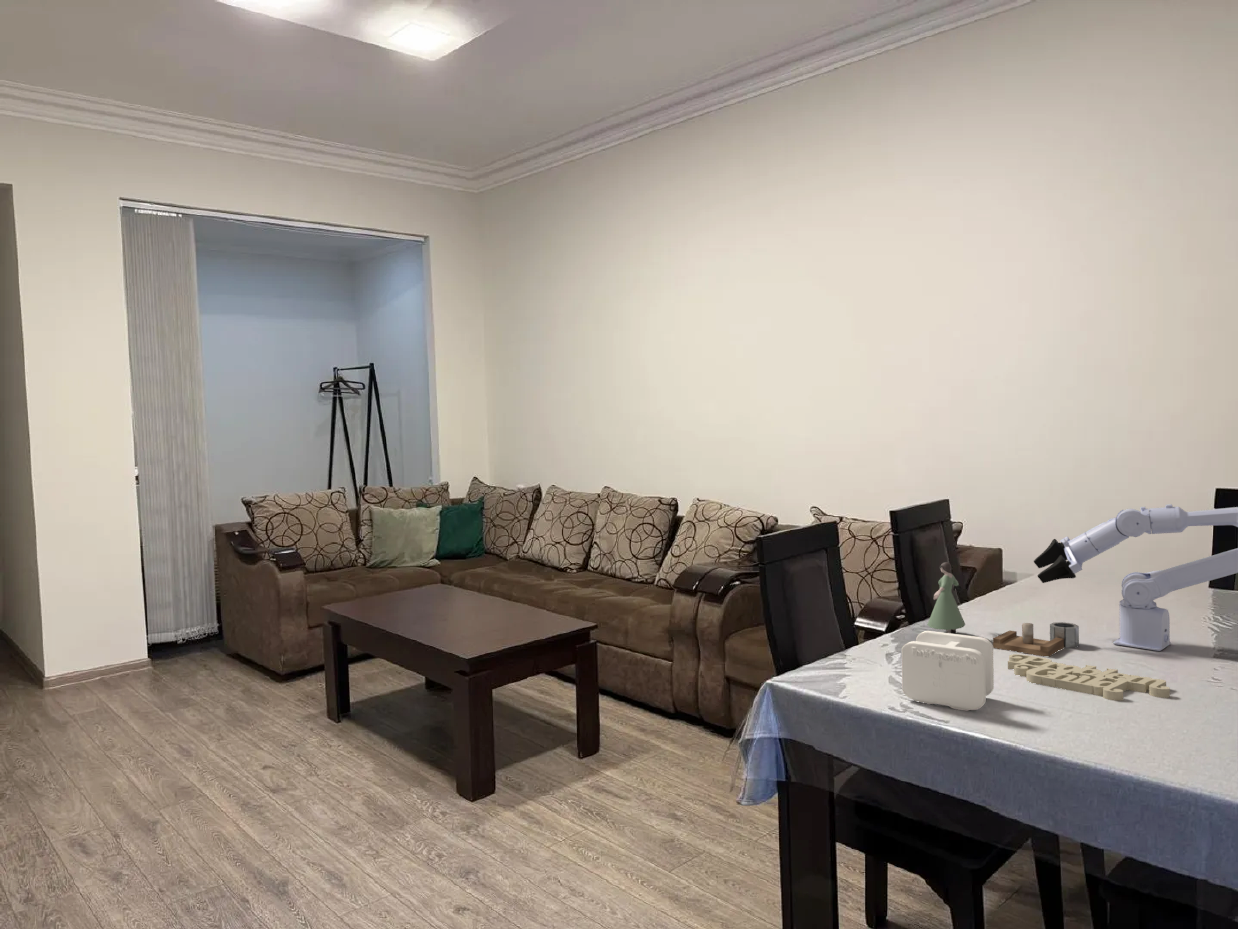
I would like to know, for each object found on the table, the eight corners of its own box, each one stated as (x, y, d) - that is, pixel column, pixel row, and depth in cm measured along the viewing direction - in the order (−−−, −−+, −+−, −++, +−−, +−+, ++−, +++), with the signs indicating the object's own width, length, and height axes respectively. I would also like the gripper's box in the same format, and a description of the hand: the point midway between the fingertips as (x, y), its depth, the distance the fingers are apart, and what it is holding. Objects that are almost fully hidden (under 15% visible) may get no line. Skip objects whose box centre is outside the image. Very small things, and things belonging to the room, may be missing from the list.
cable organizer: (999, 699, 164) (998, 639, 163) (982, 716, 156) (981, 652, 155) (919, 686, 173) (918, 629, 173) (900, 701, 165) (898, 641, 164)
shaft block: (1063, 648, 195) (1063, 624, 195) (1048, 657, 189) (1047, 632, 189) (1009, 639, 204) (1009, 616, 204) (993, 647, 198) (992, 624, 198)
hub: (1081, 644, 198) (1081, 624, 198) (1072, 649, 194) (1072, 629, 194) (1056, 640, 202) (1056, 621, 202) (1047, 645, 198) (1046, 625, 198)
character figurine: (945, 626, 219) (943, 555, 218) (978, 630, 213) (977, 558, 212) (917, 639, 207) (915, 564, 206) (951, 644, 202) (950, 568, 201)
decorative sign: (985, 669, 178) (1014, 652, 188) (985, 678, 178) (1014, 662, 188) (1157, 700, 156) (1178, 679, 166) (1157, 711, 156) (1178, 690, 167)
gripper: (1077, 517, 206) (1024, 546, 212) (1087, 543, 193) (1031, 573, 199) (1094, 539, 206) (1041, 567, 212) (1106, 567, 193) (1050, 596, 200)
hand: (1038, 571), depth 206 cm, fingers open, 7 cm apart
